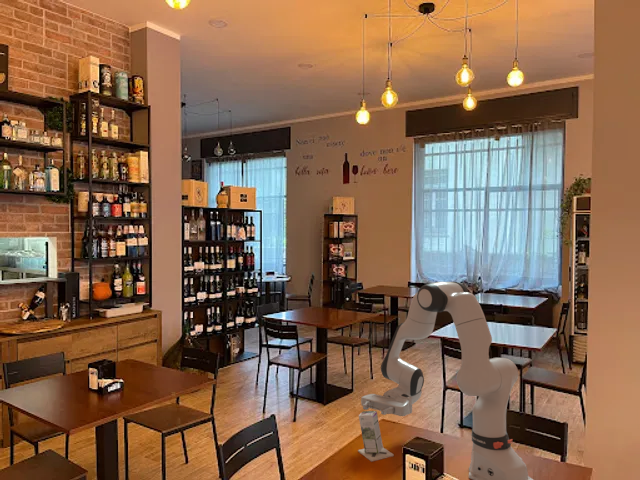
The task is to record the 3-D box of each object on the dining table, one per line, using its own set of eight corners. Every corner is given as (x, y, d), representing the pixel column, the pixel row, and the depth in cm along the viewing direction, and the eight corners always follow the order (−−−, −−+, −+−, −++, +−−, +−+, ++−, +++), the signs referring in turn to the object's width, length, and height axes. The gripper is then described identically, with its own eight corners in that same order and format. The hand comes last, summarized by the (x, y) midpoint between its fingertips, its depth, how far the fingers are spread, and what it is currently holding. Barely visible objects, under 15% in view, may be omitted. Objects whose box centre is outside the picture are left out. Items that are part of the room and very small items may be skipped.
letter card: (393, 455, 186) (393, 454, 186) (371, 461, 182) (371, 459, 182) (379, 446, 195) (379, 444, 195) (358, 451, 191) (358, 449, 191)
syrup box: (383, 447, 190) (377, 409, 191) (378, 453, 185) (371, 414, 186) (370, 448, 192) (363, 410, 194) (364, 453, 187) (358, 415, 188)
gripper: (372, 388, 205) (351, 396, 195) (415, 397, 191) (395, 407, 181) (373, 403, 205) (352, 412, 195) (415, 413, 191) (395, 424, 181)
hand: (373, 410), depth 188 cm, fingers open, 7 cm apart
